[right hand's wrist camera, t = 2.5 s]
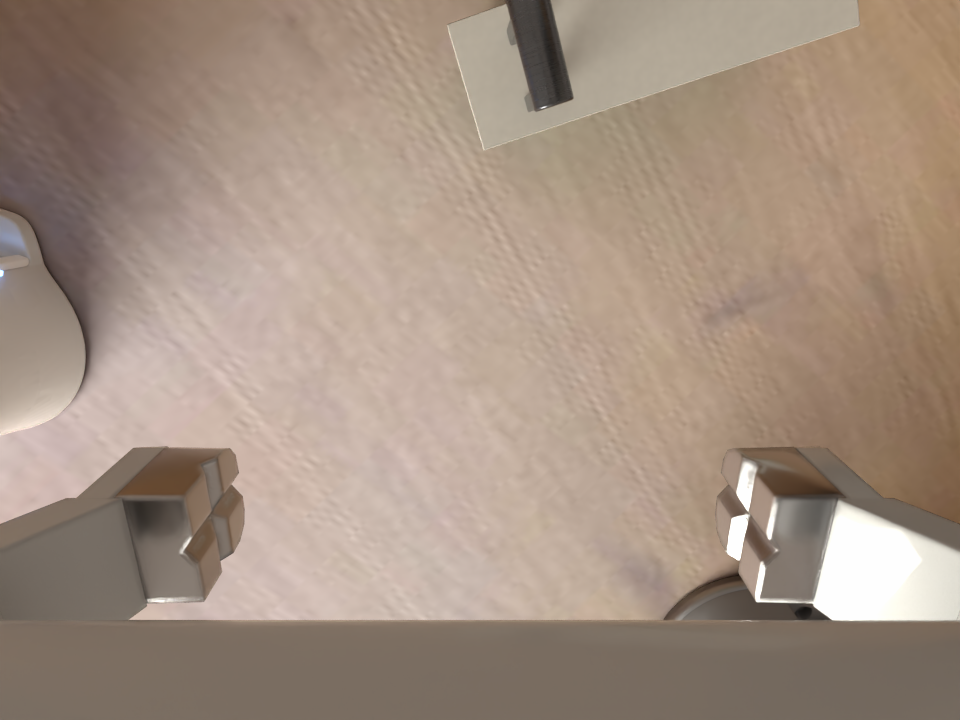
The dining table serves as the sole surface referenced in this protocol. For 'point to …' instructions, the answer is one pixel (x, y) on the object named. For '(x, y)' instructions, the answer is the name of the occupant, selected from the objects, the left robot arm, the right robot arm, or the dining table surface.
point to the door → (616, 52)
